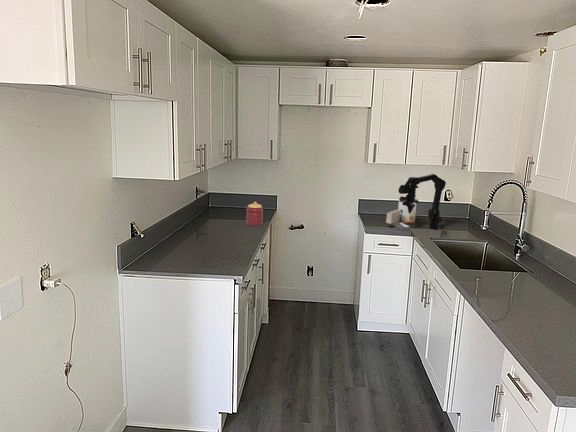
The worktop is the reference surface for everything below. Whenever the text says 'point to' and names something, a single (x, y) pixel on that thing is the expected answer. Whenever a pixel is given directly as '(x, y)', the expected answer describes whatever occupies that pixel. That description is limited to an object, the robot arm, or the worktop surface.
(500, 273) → the worktop surface
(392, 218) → the beige block
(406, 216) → the cracker box
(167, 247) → the worktop surface
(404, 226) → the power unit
